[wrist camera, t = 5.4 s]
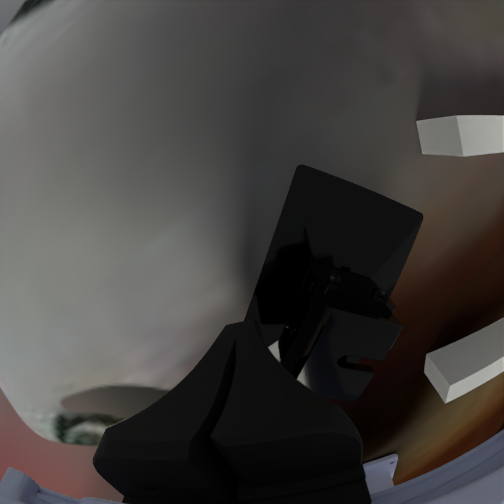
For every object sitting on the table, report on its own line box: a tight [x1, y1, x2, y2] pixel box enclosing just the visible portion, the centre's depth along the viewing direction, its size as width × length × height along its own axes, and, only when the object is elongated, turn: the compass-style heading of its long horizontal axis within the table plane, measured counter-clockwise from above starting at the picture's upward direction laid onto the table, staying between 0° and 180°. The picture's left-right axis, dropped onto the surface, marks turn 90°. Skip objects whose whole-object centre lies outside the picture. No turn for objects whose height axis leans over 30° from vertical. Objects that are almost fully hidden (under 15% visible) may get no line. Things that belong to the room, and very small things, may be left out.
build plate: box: [244, 165, 423, 401], centre depth 11 cm, size 12×7×5 cm, turn 162°
